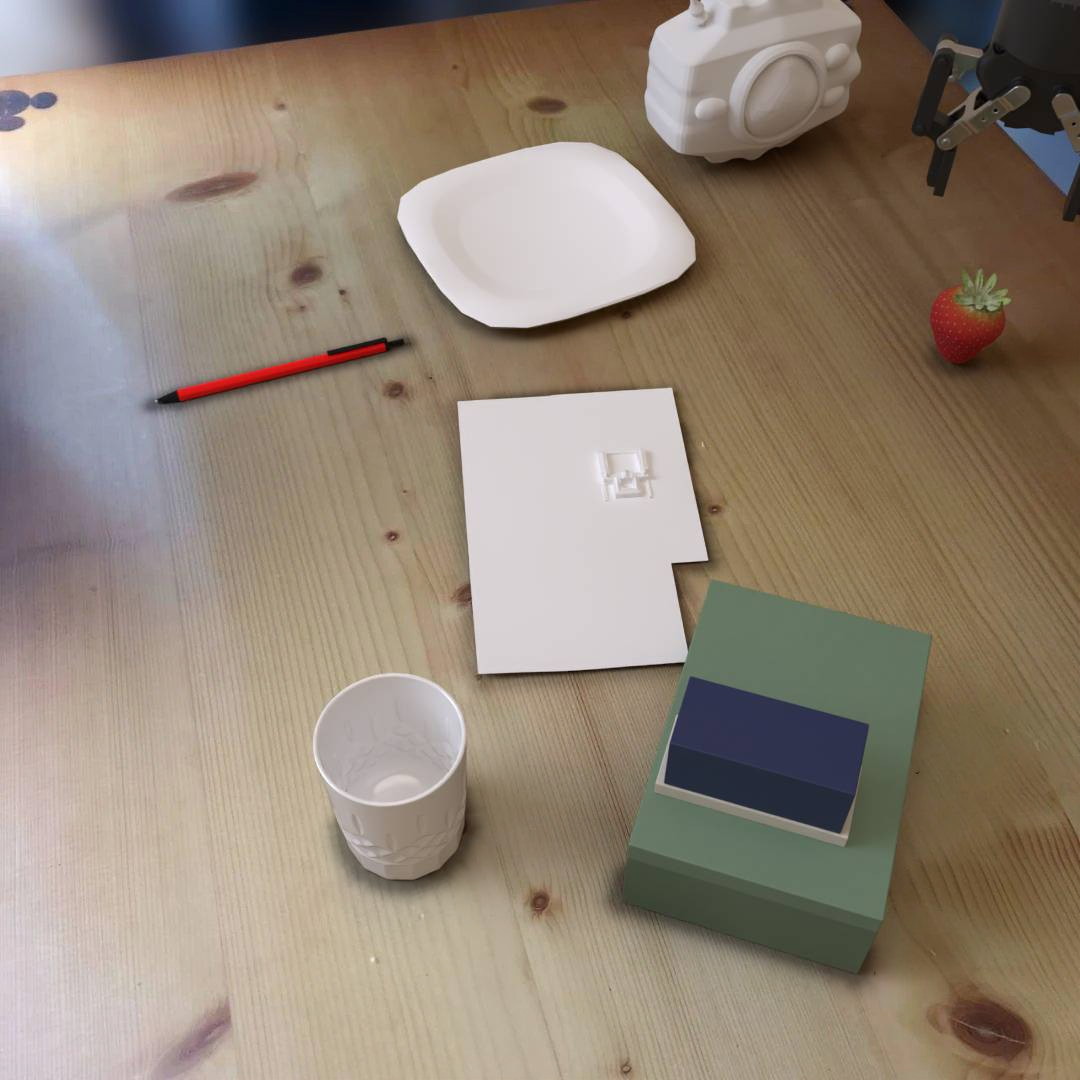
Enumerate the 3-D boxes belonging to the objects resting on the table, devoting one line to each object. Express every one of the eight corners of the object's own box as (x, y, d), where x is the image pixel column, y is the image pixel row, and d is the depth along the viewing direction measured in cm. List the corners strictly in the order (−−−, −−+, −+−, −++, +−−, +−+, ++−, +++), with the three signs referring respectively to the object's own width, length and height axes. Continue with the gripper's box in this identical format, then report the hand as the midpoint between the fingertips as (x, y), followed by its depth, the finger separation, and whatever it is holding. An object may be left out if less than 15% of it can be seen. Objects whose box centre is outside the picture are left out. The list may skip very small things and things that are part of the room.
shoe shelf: (906, 700, 80) (932, 634, 75) (857, 974, 69) (883, 921, 64) (699, 645, 83) (710, 578, 77) (621, 901, 72) (628, 844, 66)
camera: (627, 141, 117) (638, -31, 105) (800, 96, 122) (829, -74, 110) (685, 210, 111) (702, 35, 99) (864, 159, 116) (903, -13, 103)
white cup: (364, 914, 71) (343, 830, 64) (317, 796, 76) (292, 705, 68) (496, 857, 73) (491, 768, 66) (442, 746, 78) (431, 651, 70)
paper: (441, 404, 96) (440, 394, 95) (669, 381, 97) (670, 370, 97) (479, 689, 80) (479, 679, 79) (750, 656, 82) (752, 646, 81)
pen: (405, 348, 100) (404, 337, 99) (157, 409, 96) (153, 398, 95) (402, 341, 101) (401, 330, 100) (155, 401, 97) (151, 390, 96)
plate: (724, 281, 105) (727, 264, 104) (479, 362, 99) (478, 345, 98) (599, 141, 117) (600, 124, 116) (374, 205, 111) (372, 189, 110)
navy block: (858, 774, 69) (877, 724, 65) (844, 847, 66) (863, 799, 62) (675, 723, 71) (683, 671, 67) (654, 792, 68) (660, 742, 64)
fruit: (989, 389, 97) (1020, 307, 91) (916, 379, 98) (941, 297, 92) (988, 344, 100) (1018, 261, 94) (917, 334, 101) (942, 251, 95)
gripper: (948, -20, 74) (889, 214, 87) (1211, 21, 72) (1110, 257, 84) (964, -80, 79) (905, 151, 91) (1211, -43, 76) (1115, 190, 89)
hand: (1003, 202), depth 88 cm, fingers open, 8 cm apart
